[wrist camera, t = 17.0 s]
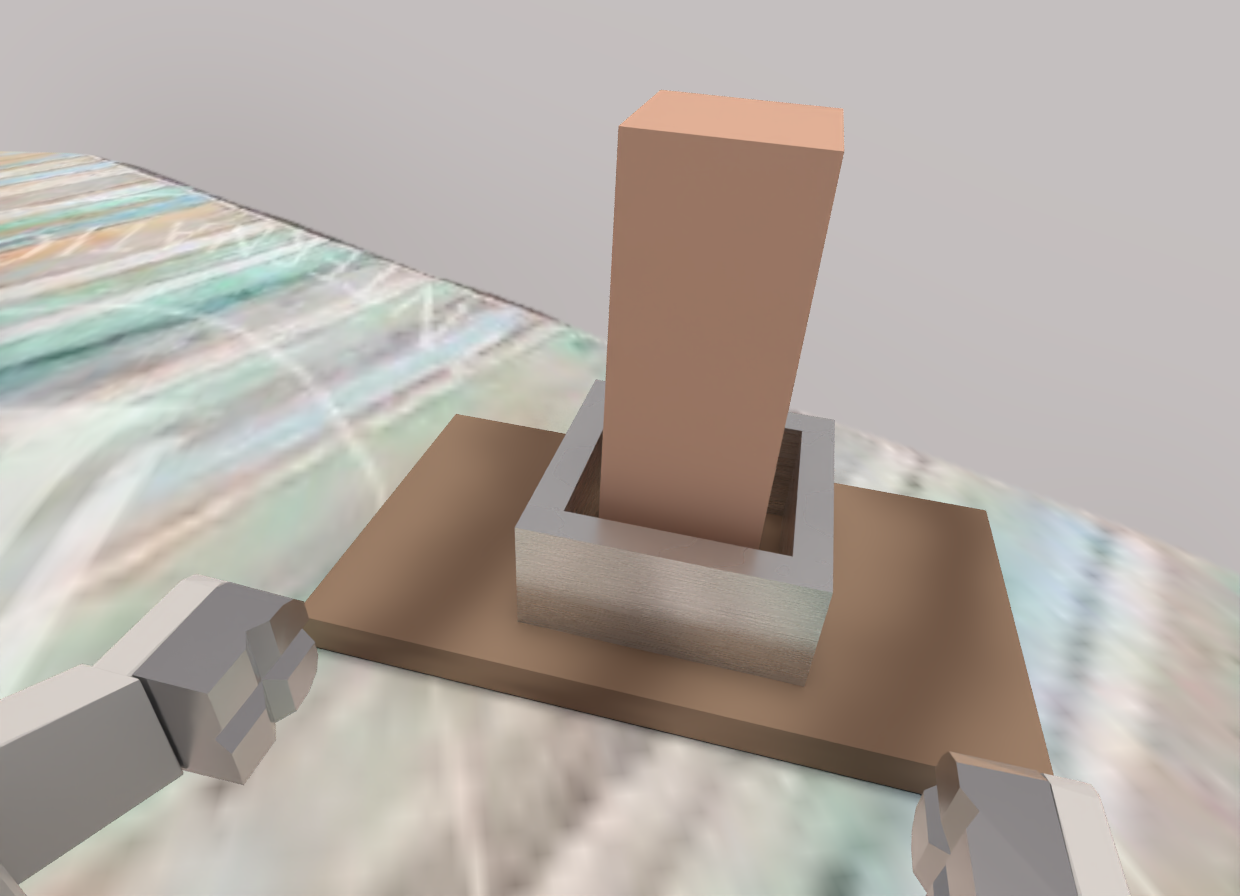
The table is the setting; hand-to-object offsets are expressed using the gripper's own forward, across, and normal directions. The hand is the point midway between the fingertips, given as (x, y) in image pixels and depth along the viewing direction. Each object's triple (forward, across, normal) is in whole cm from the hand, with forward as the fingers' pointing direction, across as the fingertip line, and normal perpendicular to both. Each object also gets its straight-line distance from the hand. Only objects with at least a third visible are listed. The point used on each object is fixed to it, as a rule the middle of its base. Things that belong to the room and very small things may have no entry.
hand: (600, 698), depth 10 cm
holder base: (+12, 0, -9) cm, 15 cm away
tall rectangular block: (+12, 0, -8) cm, 15 cm away
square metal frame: (+12, 0, -8) cm, 14 cm away
